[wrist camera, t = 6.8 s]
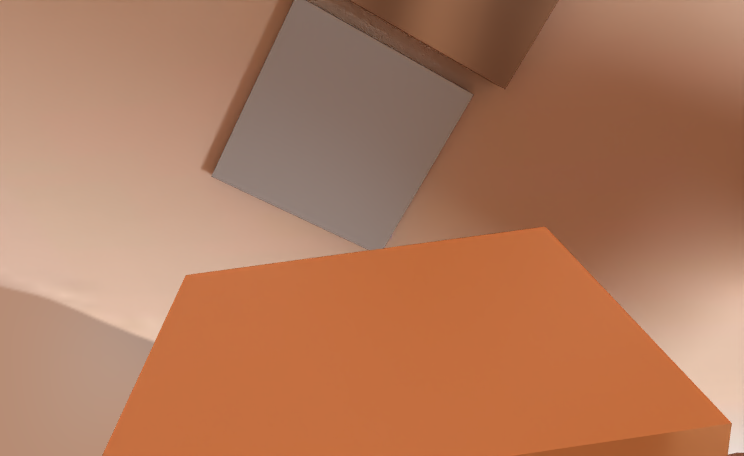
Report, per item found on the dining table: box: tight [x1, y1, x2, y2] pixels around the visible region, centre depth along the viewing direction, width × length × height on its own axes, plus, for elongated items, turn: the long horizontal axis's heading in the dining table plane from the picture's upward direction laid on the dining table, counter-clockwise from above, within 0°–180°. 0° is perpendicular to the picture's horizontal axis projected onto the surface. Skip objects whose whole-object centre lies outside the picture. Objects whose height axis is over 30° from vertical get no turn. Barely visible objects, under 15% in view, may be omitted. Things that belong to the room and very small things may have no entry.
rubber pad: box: [211, 0, 473, 250], centre depth 32 cm, size 10×10×1 cm
